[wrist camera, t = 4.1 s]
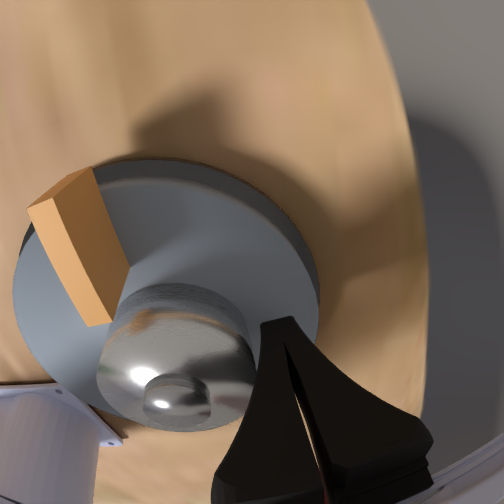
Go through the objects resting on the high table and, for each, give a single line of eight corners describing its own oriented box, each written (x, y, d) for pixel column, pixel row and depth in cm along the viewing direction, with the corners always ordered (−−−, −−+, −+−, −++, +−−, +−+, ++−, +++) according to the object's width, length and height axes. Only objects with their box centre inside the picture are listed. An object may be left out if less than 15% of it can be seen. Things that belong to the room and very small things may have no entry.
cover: (143, 390, 14) (138, 451, 11) (86, 299, 11) (59, 367, 8) (260, 370, 15) (273, 433, 11) (232, 267, 12) (243, 337, 8)
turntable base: (105, 413, 18) (104, 419, 18) (-23, 220, 11) (-29, 224, 10) (323, 374, 19) (325, 380, 18) (293, 116, 11) (297, 117, 11)
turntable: (319, 381, 18) (339, 440, 14) (105, 418, 17) (98, 472, 14) (283, 109, 10) (326, 123, 7) (-29, 216, 10) (-83, 265, 6)
